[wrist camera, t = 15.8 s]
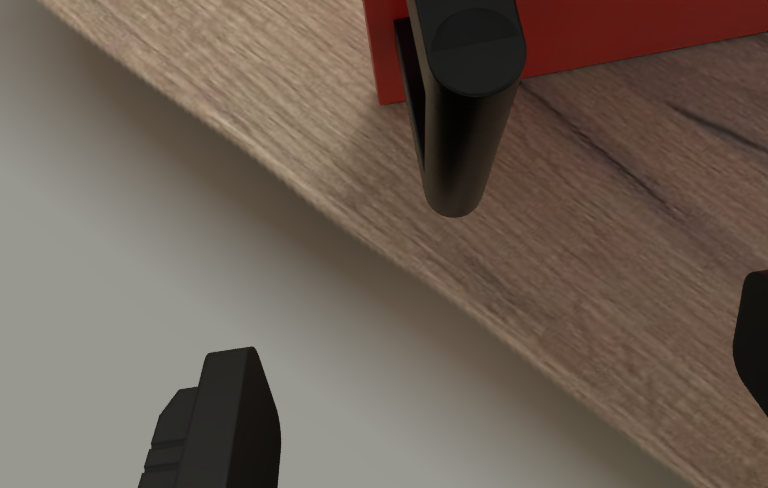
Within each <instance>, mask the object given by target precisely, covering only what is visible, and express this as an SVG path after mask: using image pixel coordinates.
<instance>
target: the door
mask: <svg viewBox="0 0 768 488" xmlns="http://www.w3.org/2000/svg"><path fill="white" fill-rule="evenodd" d="M362 2H363V8H364V15H365V21H366V28H367V34H368V40H369V47H370V53H371V60H372V66H373V73H374V79H375V85H376V90H377V95H378V100H379V104H380V105H386V104H391V103H396V102H402V101H406V104H407V109H408V114H409V119H410V124H411V129H412V134H413V139H414V144H415V149H416V154H417V159H418V163H419V168H420V173H421V178H422V183H423V188H424V193H425V197H426V200H427V202H428V204H429V205H430V207H431V208H432V209H433V210H434V211H435V212H437V213H438V214H440V215H442V216H445V217H450V218H457V217H462V216H465V215H467V214H469V213H471V212H472V211H473V210H474V209H475V208H476V207H477V206H478V205H479V203H480V201H481V199H482V196H483V192H484V189H485V186H486V183H487V180H488V177H489V174H490V171H491V168H492V165H493V162H494V159H495V156H496V153H497V149H498V146H499V143H500V140H501V137H502V134H503V131H504V128H505V125H506V122H507V119H508V116H509V113H510V110H511V106H512V103H513V100H514V97H515V94H516V91H517V88H518V85H519V82H520V79H522V78H527V77H532V76H537V75H542V74H548V73H553V72H558V71H563V70H569V69H574V68H579V67H584V66H589V65H595V64H600V63H605V62H610V61H615V60H621V59H626V58H631V57H636V56H642V55H647V54H652V53H657V52H662V51H668V50H673V49H678V48H683V47H688V46H694V45H699V44H704V43H709V42H714V41H720V40H725V39H730V38H735V37H741V36H746V35H751V34H756V33H761V32H767V31H768V0H362Z"/></svg>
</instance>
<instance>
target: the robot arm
mask: <svg viewBox="0 0 768 488" xmlns="http://www.w3.org/2000/svg"><path fill="white" fill-rule="evenodd" d="M733 358H734V362H735V366H736V369H737V372H738V374H739V376H740V378H741V380H742V382H743V383H744V385H745V386H746V387H747V389H748V390H749V392H750V393H751V395H752V396H753V397H754V399H755V400H756V402H757V403H758V404H759V406H760V407H761V409H762V410H763V411H764V413H765V414H766V416H767V417H768V270H762V271H755V272H751V273H749V274H748V275H747V276H746V278H745V280H744V284H743V289H742V295H741V300H740V306H739V311H738V317H737V322H736V328H735V333H734V339H733ZM151 446H152V448H151V449H149V452H148V455H147V459H146V462H145V465H144V468H145V472H144V473H142V475H141V479H140V482H139V485H138V488H277V486H278V475H279V464H280V453H281V431H280V422H279V417H278V413H277V409H276V406H275V403H274V400H273V397H272V394H271V391H270V388H269V385H268V382H267V379H266V376H265V373H264V370H263V367H262V364H261V361H260V358H259V355H258V353H257V351H256V349H255V348H254V347H246V348H239V349H232V350H226V351H219V352H213V353H208V354H207V356H206V358H205V361H204V364H203V369H202V372H201V377H200V381H199V385H198V387H192V388H186V389H180V390H178V392H177V393H176V394H175V396H174V397H173V398H172V400H171V401H170V402H169V404H168V405H167V406H166V408H165V409H164V410H163V412H162V413H161V414H160V415H159V419H158V422H157V425H156V428H155V432H154V436H153V439H152V442H151Z"/></svg>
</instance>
